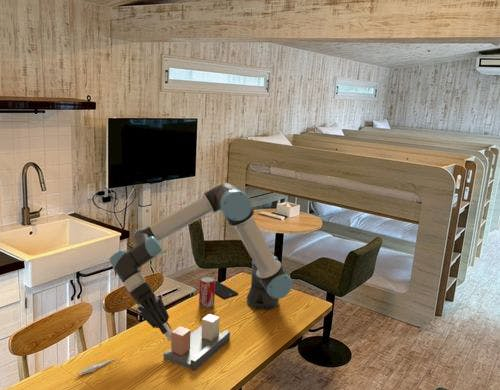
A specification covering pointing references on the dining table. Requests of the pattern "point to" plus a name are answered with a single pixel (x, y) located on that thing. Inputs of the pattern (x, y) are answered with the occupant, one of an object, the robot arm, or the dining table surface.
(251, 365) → the dining table surface
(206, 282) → the soda can
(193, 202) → the robot arm
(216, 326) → the key cream
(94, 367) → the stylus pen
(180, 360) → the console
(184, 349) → the reddish pink block
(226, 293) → the cell phone
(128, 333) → the dining table surface
